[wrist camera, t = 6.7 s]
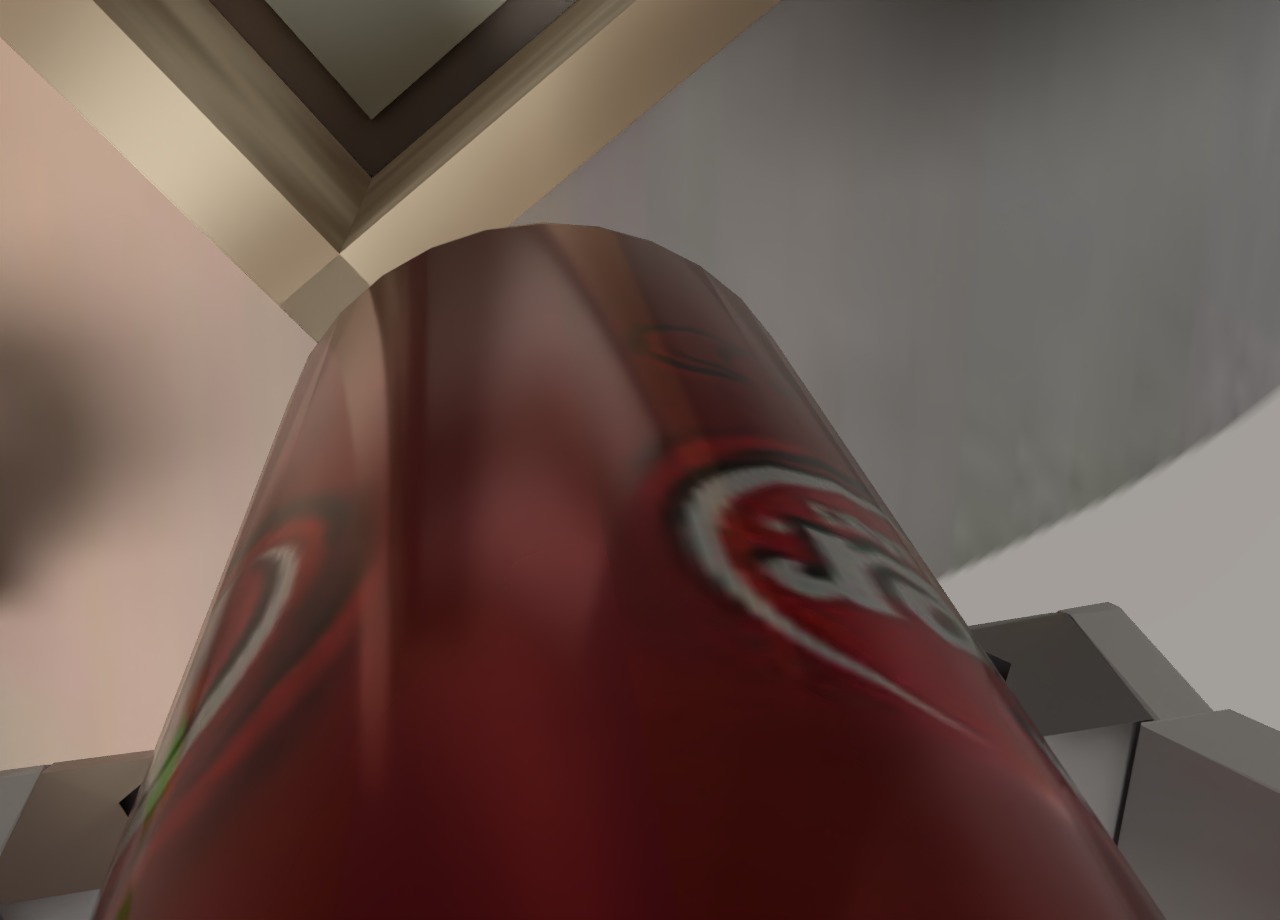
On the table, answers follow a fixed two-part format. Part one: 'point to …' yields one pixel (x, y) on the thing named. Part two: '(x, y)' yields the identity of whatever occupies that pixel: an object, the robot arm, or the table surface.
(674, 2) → the corner arena
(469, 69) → the table surface
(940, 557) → the table surface
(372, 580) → the soda can
